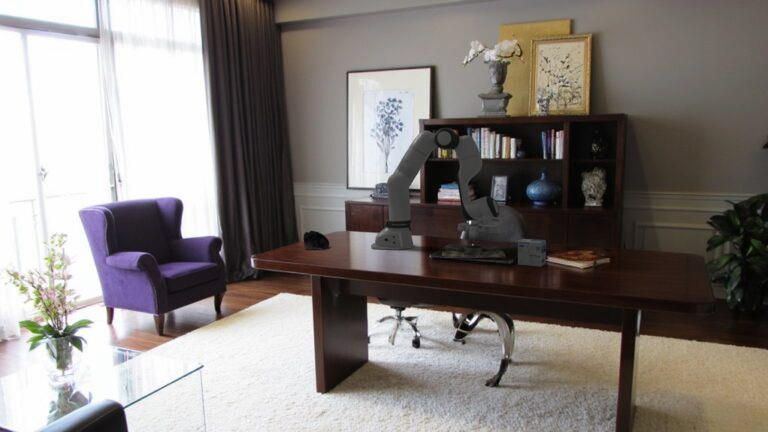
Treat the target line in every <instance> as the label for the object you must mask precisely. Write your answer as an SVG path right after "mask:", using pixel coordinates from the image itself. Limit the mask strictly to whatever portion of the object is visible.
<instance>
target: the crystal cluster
mask: <svg viewBox="0 0 768 432" xmlns="http://www.w3.org/2000/svg"><path fill="white" fill-rule="evenodd" d="M303 246H304V248H305V249H306V250H309V251H313V250H315V251H317V250H318V251H321V250H324V249H326V248H328V247H329V246H330V241H329V239H328V237H326V235H324V234H322V233H321V232H320V231H315V230H310V231H306V232H304V234H303Z"/></svg>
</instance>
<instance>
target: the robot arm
mask: <svg viewBox="0 0 768 432" xmlns="http://www.w3.org/2000/svg"><path fill="white" fill-rule="evenodd" d="M436 148H438V149H440V150H442V151H450V150H453V151H454V152H455V154H456V156H457V159H458V162H459V163H458V164H459V170H458V172H457V174H456V178H457V179H456V180H457V187H458V195H459V199H460V200H459V201H460V215H461V216H462V219H464V220H465V221H466V222H461V223H458V224H457V230H458V231H459V232H464V233H465V232H466V233H469V224H468V223H469V220H478V229H477V232H478V235H480V236H486V235H488V236H489V235H499V234H501V233H502V224H503V218H502V215H500V207H499V204H498V202H497V200H496V199H495V198H493V197H492V196H489V195H488V196H483V197H480V198H478V199H475V200H471V197H470V192H469V182H470V181H471V180H472V178H474V177H475V176H476V175H477V174H479V172H480V171H481V169H482V168H483V158H482V155H481V152H480V150H479V147H478V145H477V143H476V141H475V139H474V138H473V136H471V135H462V136H459V135H458V134H457V133H456V131H455V129H453V128H450V127H441V128H439V129H438V130H437V131H436V132H435V133H434V132H431V131H430V130H424V129H423V130H422V131H420V132H419V133H418V134H417V136H416V137H415V138H414V139H413V141H411V143H410V145H409V147H408V148H407V150H406V152H405V153H404V154H403V157H402V158H401V159H400V161H399V163H398V165H397V166H396V168H395V170H394V171H393V173H392V174H391V175H390V176H389V177H388V178H387V181H386V182H387V183H386V185H387V186H386V188H387V199H388V200H387V201H388V215H389V216H388V218H389V219H386V220H385V227H384V228H383V229H382V230H380V232H378V233H377V234H376V236H375V240H374V243H372V244H371V245H370V248H371V249H372V250H388V251H389V250H393V251H400V250H406V249H410V248H411V249H412V248H414V247H415V244H414V241H413V235H412V234H413V233H412V228H413V225H412V224H413V223H412V219H411V200H410V187H411V185H412V183H413V182H414V181H415V179H416V177H417V175H419V173H420V171H421V169H422V167H423V166H424V165H425V163H426V161H427V160H428V158H429V156H430V155H431V153H432V152H433V151H434V150H435V149H436Z"/></svg>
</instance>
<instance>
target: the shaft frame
mask: <svg viewBox="0 0 768 432" xmlns="http://www.w3.org/2000/svg"><path fill="white" fill-rule="evenodd" d="M502 249H503V248H502V245H497V246H491V247H484V248H483V245H481V244H480V245H476V244H475V245H469V244H467V245H463V248H462V247H456V246H450V245H445V247H444V250H442V253H441V257H442V256H444V257H465V256H466V257H467V256H469V257H471V256H476V257H479V256H480V257H503V256H505V257H506V253H505V251H503V250H502Z"/></svg>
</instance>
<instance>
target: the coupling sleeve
mask: <svg viewBox="0 0 768 432" xmlns="http://www.w3.org/2000/svg"><path fill="white" fill-rule="evenodd" d="M468 222H469V223H468V224H469V232H468V243H479V234H478V232H477V229H478V220H469V221H468Z"/></svg>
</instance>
